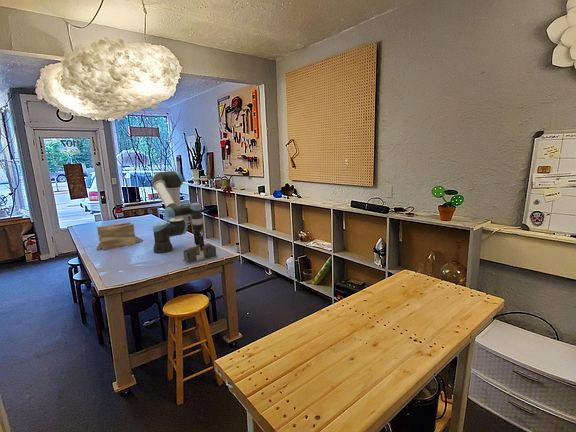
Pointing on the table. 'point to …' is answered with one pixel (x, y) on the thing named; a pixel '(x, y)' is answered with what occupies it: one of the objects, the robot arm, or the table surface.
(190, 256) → the grey rectangular holder
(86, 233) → the table surface
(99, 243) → the wall bracket
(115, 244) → the cradle
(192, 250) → the rail
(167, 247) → the robot arm
